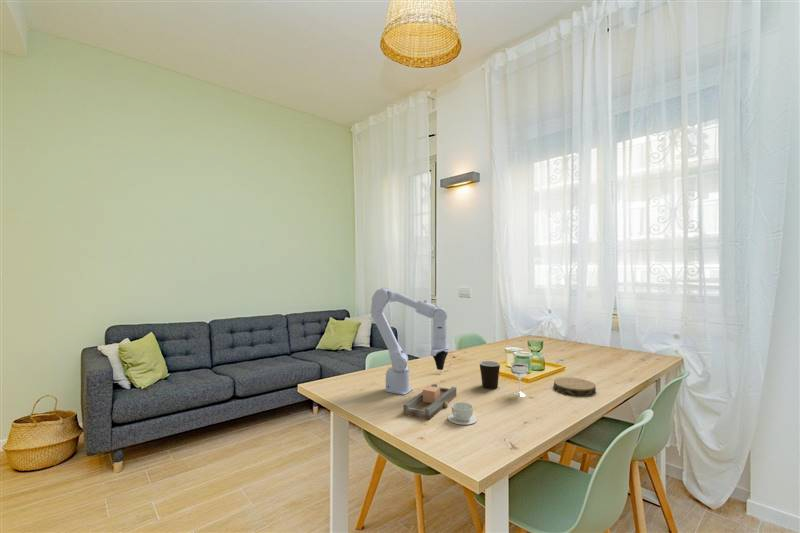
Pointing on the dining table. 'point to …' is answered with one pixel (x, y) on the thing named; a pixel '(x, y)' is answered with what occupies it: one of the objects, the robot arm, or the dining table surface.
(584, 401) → the dining table surface
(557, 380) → the wood slice
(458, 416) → the teacup
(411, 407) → the grey rectangular tray
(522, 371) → the wineglass
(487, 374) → the coffee mug
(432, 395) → the salmon orange block
